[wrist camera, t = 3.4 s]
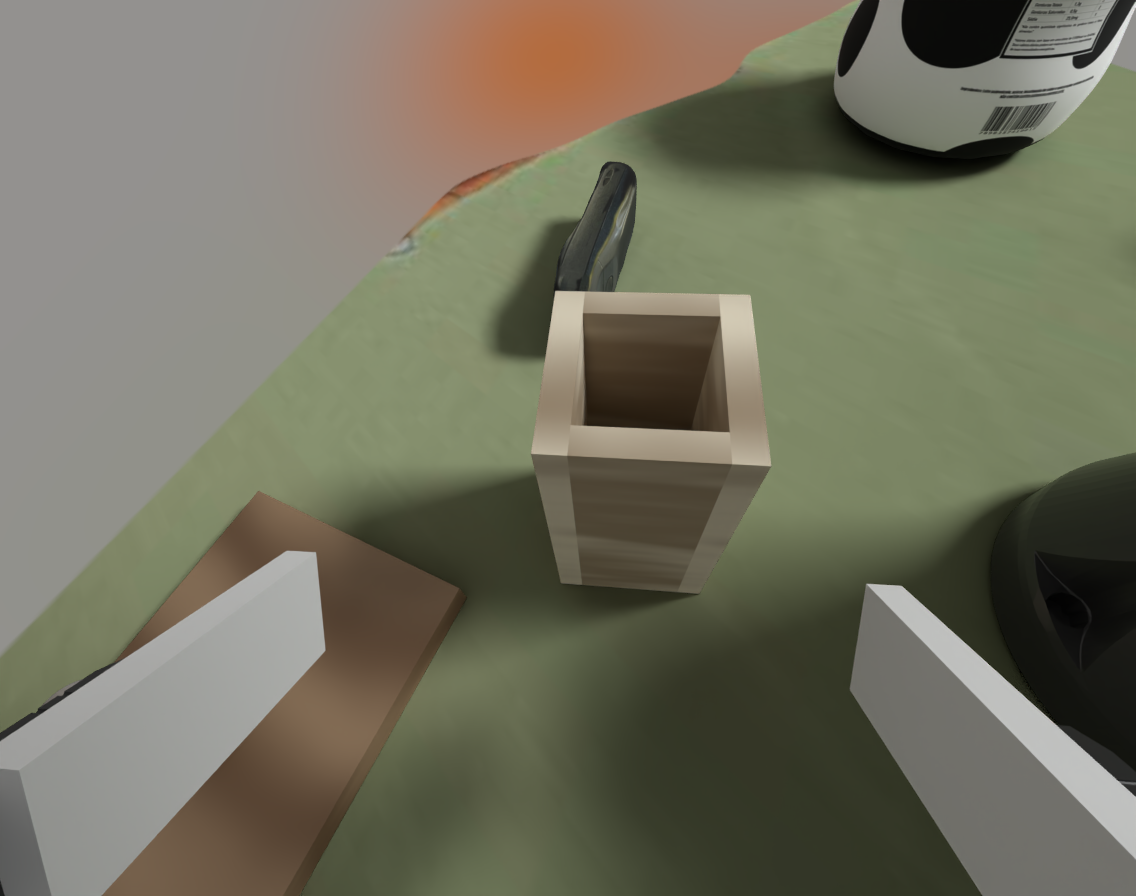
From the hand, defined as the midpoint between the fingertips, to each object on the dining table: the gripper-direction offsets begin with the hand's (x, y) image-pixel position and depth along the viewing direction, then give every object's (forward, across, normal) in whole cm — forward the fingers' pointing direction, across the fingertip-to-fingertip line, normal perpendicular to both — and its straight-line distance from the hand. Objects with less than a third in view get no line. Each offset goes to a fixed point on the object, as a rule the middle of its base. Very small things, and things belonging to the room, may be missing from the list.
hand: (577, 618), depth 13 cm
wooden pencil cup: (+13, +2, -3) cm, 14 cm away
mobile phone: (+25, -1, +9) cm, 27 cm away
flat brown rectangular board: (+6, -15, -10) cm, 19 cm away
